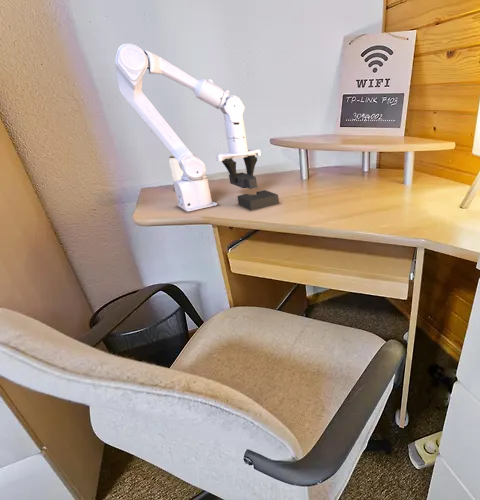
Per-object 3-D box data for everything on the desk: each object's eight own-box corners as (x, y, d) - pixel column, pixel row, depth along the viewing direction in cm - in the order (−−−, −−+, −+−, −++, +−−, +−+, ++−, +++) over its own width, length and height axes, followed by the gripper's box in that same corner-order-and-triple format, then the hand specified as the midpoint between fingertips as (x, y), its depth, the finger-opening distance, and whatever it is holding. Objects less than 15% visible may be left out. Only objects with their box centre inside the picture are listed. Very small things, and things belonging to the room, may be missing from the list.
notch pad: (251, 210, 97) (249, 201, 96) (238, 204, 102) (237, 195, 101) (278, 203, 104) (278, 194, 102) (265, 198, 109) (264, 189, 107)
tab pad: (246, 189, 100) (245, 180, 99) (230, 183, 108) (228, 174, 106) (260, 186, 104) (259, 177, 102) (243, 180, 111) (242, 172, 109)
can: (198, 187, 122) (191, 154, 117) (188, 191, 116) (181, 158, 111) (182, 186, 123) (174, 154, 117) (172, 191, 117) (163, 157, 112)
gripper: (250, 134, 107) (256, 174, 113) (208, 138, 98) (216, 182, 104) (262, 136, 102) (266, 178, 108) (218, 140, 93) (226, 186, 99)
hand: (242, 180), depth 106 cm, fingers closed on tab pad, 5 cm apart
